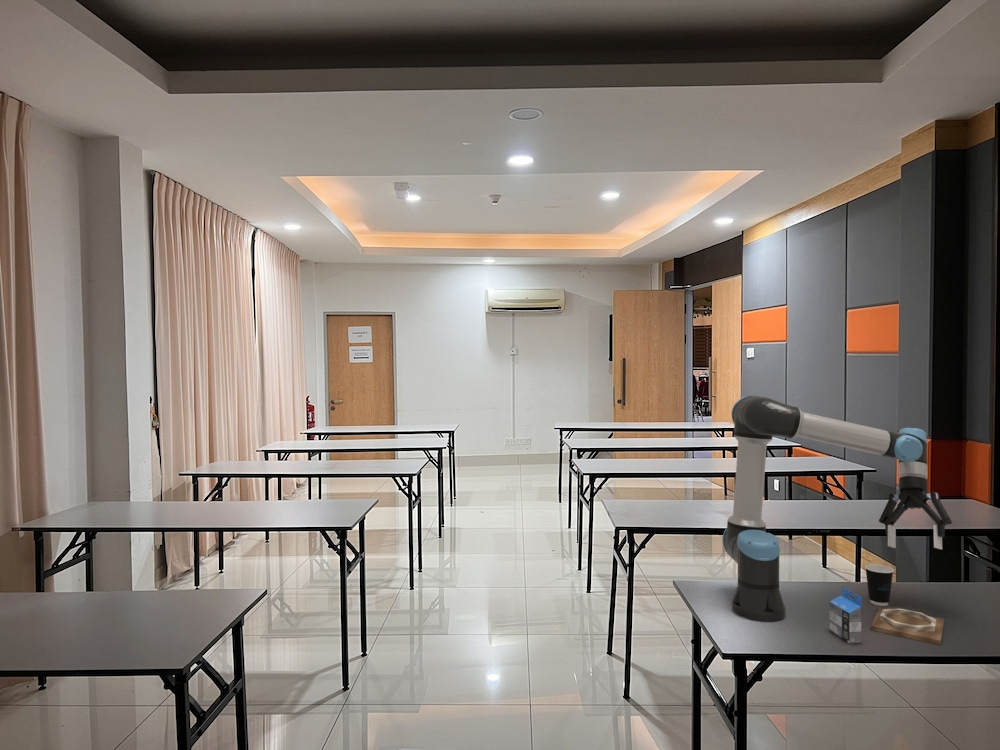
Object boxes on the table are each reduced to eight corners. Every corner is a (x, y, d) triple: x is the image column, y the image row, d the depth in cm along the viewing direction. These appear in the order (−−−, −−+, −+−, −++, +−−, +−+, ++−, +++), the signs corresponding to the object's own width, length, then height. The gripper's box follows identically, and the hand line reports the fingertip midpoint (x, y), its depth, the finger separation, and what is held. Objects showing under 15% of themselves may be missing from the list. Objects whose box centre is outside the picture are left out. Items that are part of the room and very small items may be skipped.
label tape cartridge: (828, 630, 179) (828, 586, 179) (841, 629, 179) (841, 586, 179) (848, 644, 170) (848, 597, 170) (862, 643, 171) (862, 597, 170)
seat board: (871, 630, 179) (871, 620, 179) (879, 610, 193) (879, 602, 193) (940, 644, 169) (940, 635, 169) (944, 623, 184) (944, 614, 183)
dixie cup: (871, 596, 205) (871, 562, 205) (898, 603, 199) (898, 568, 198) (859, 602, 200) (859, 567, 200) (887, 609, 194) (887, 573, 194)
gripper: (964, 478, 188) (967, 551, 181) (881, 483, 210) (881, 548, 203) (948, 472, 185) (951, 546, 179) (866, 477, 207) (866, 544, 200)
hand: (914, 547), depth 191 cm, fingers open, 13 cm apart
